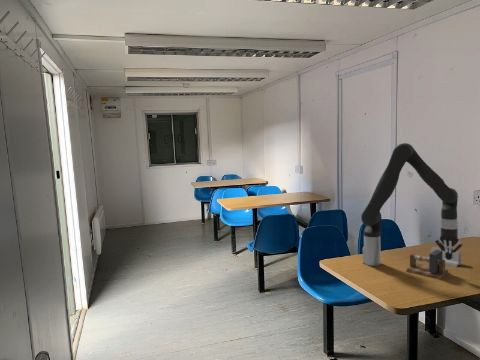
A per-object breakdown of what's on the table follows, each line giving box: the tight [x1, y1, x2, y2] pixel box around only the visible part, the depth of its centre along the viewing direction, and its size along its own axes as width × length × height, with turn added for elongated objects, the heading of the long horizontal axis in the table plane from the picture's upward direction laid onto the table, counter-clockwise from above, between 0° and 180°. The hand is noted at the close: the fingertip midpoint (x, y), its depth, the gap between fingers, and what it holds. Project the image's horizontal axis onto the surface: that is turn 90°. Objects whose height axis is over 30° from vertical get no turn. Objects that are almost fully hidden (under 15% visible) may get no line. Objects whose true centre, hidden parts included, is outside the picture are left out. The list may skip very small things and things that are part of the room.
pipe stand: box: [406, 253, 449, 280], centre depth 187 cm, size 17×12×8 cm
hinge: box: [428, 245, 462, 268], centre depth 201 cm, size 17×5×10 cm, turn 35°
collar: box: [428, 250, 442, 274], centre depth 184 cm, size 3×10×10 cm, turn 131°
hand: (448, 259), depth 179 cm, fingers closed
